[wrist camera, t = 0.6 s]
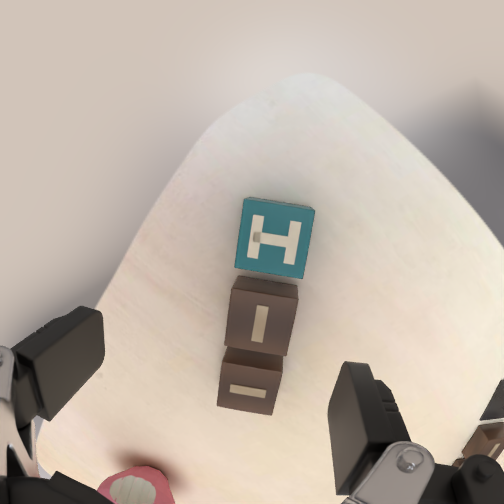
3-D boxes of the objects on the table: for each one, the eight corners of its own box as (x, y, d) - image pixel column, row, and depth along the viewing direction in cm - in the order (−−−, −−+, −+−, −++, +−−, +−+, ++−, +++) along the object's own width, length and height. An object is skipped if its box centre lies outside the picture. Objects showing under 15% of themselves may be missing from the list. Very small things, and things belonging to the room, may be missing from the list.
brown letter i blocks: (237, 275, 25) (231, 288, 22) (297, 285, 24) (298, 299, 21) (222, 386, 27) (216, 406, 24) (273, 394, 27) (271, 416, 24)
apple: (190, 468, 30) (167, 533, 21) (183, 500, 32) (164, 555, 22) (115, 440, 31) (79, 496, 21) (117, 475, 33) (89, 525, 23)
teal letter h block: (248, 197, 23) (243, 198, 20) (311, 207, 23) (315, 210, 20) (240, 257, 24) (233, 268, 21) (300, 267, 24) (302, 279, 21)
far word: (500, 380, 24) (514, 394, 21) (529, 378, 24) (542, 391, 21) (417, 505, 29) (421, 520, 26) (446, 500, 29) (452, 514, 26)
